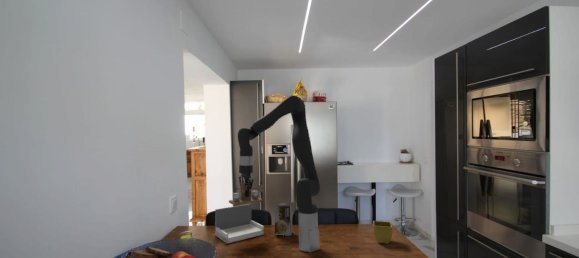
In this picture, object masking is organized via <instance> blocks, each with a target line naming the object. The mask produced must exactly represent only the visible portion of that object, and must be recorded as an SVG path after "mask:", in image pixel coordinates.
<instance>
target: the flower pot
mask: <svg viewBox="0 0 579 258" xmlns="http://www.w3.org/2000/svg"><path fill="white" fill-rule="evenodd" d="M373 231H374V233H373V234H374V237H375V241H376V243H378V244H389V243H390V242H391V241H392V236H393V225H392V222H391V221H381V220H373Z"/></svg>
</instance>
